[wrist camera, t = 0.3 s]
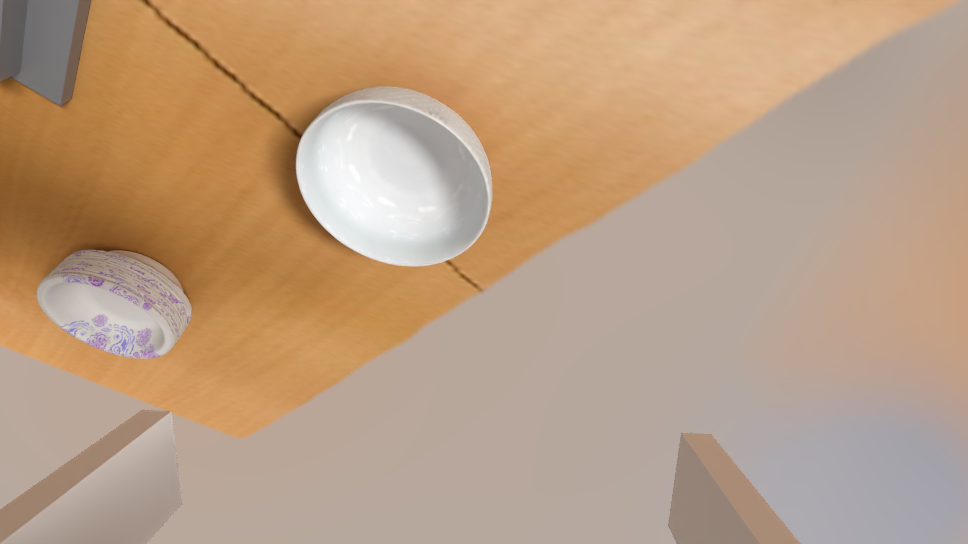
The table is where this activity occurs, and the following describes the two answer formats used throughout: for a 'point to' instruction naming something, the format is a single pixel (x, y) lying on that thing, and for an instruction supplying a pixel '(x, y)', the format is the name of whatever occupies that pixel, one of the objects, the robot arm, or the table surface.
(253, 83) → the table surface
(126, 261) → the paper bowls
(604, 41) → the table surface
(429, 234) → the cereal bowl
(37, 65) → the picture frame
